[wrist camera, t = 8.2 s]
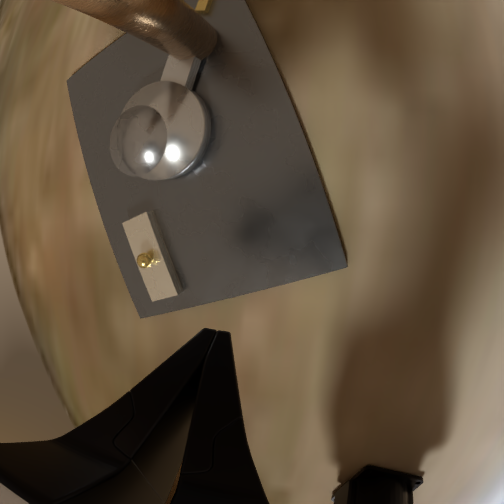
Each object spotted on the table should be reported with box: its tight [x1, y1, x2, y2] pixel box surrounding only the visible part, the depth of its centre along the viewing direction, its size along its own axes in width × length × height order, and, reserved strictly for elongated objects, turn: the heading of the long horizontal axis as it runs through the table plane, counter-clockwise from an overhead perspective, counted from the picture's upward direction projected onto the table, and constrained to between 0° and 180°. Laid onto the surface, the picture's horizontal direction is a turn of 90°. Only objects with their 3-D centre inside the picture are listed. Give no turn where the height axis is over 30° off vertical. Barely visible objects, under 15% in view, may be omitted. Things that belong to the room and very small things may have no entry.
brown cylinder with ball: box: [52, 0, 217, 180], centre depth 12 cm, size 6×11×12 cm, turn 163°
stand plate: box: [67, 0, 348, 319], centre depth 18 cm, size 20×15×2 cm
